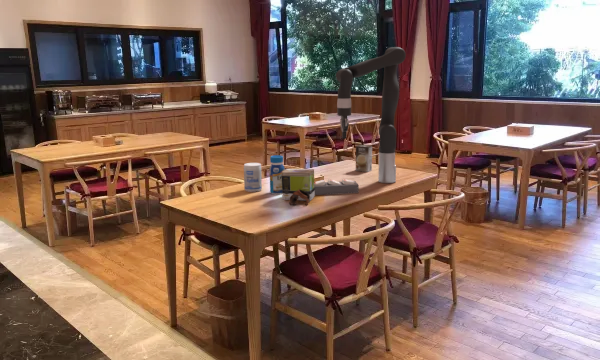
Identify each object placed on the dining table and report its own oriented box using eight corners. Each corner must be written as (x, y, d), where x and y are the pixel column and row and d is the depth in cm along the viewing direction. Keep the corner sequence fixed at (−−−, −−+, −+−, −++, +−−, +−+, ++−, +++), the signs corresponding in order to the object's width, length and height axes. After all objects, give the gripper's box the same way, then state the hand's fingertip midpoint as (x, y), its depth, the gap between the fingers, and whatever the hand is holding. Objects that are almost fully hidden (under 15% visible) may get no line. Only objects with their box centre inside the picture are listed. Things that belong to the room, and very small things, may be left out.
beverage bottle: (275, 190, 276) (274, 154, 271) (288, 191, 272) (287, 155, 267) (266, 193, 269) (265, 157, 264) (280, 195, 265) (278, 158, 260)
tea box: (315, 196, 261) (314, 168, 258) (310, 201, 252) (309, 172, 249) (287, 195, 265) (286, 167, 262) (281, 200, 256) (280, 171, 253)
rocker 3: (352, 183, 272) (353, 180, 271) (354, 185, 268) (354, 182, 267) (341, 182, 271) (342, 178, 271) (343, 183, 267) (344, 180, 266)
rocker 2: (337, 185, 271) (339, 182, 271) (339, 187, 267) (340, 184, 267) (327, 181, 270) (328, 178, 270) (329, 183, 266) (330, 180, 265)
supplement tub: (246, 193, 271) (245, 166, 268) (242, 189, 280) (241, 163, 276) (264, 191, 274) (263, 164, 271) (259, 187, 283) (258, 161, 279)
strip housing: (354, 188, 275) (354, 180, 274) (358, 193, 266) (358, 184, 265) (309, 191, 273) (309, 182, 272) (311, 195, 264) (311, 186, 263)
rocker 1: (324, 182, 270) (323, 179, 270) (325, 184, 266) (324, 181, 265) (313, 185, 270) (312, 182, 269) (314, 187, 265) (313, 184, 265)
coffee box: (354, 170, 320) (355, 146, 317) (359, 169, 326) (359, 144, 322) (368, 172, 316) (368, 147, 312) (372, 170, 321) (372, 145, 317)
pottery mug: (293, 201, 255) (301, 188, 253) (307, 212, 251) (315, 198, 249) (281, 201, 244) (289, 187, 242) (295, 212, 240) (303, 198, 238)
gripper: (353, 107, 266) (353, 140, 270) (348, 105, 278) (348, 136, 282) (339, 108, 265) (339, 140, 269) (335, 106, 278) (335, 137, 282)
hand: (344, 138), depth 276 cm, fingers closed
